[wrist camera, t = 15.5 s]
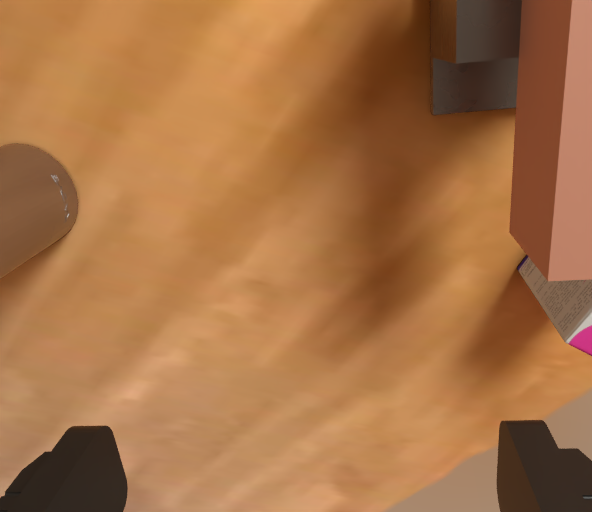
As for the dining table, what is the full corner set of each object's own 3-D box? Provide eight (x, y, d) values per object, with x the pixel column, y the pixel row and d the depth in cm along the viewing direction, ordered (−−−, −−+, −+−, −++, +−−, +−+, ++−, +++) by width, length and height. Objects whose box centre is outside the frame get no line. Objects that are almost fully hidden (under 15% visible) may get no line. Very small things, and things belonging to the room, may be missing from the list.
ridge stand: (430, 112, 40) (455, 137, 30) (429, -68, 36) (457, -110, 25) (568, 99, 39) (643, 121, 29) (585, -90, 34) (681, -143, 24)
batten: (509, 232, 32) (547, 281, 25) (537, -283, 23) (607, -409, 16) (570, 228, 31) (625, 277, 25) (623, -299, 22) (730, -436, 16)
